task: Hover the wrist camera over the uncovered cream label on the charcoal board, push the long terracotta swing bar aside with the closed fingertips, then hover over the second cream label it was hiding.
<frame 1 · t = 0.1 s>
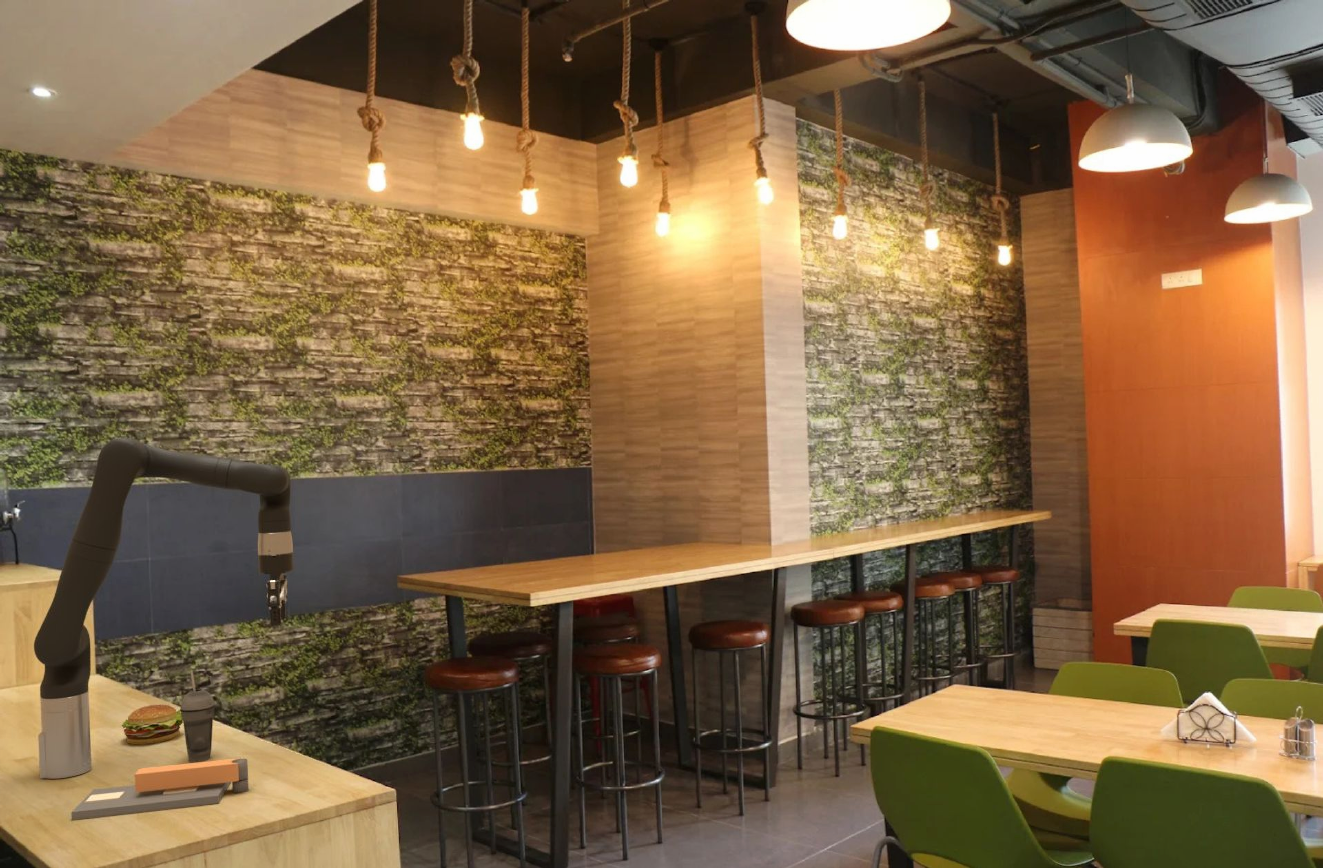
hand: (278, 622, 241), 29 cm above the table, fingers open, 8 cm apart
beverage cup: (199, 759, 237), on the table
label board: (154, 799, 209), on the table
swing bar: (193, 774, 210), point 4 cm above the table, hinge at 0.0°
food: (153, 739, 257), on the table
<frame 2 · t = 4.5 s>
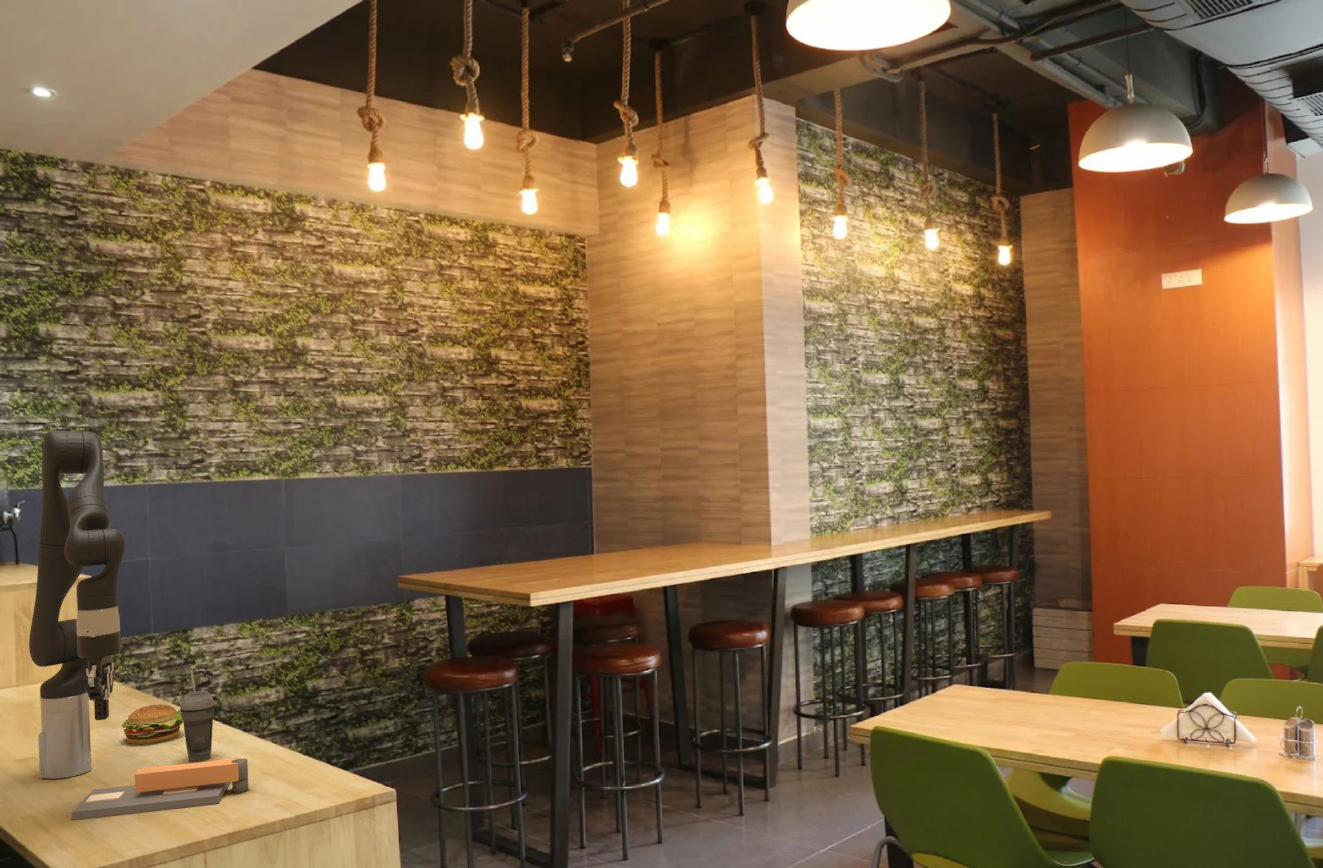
hand: (102, 718, 207), 17 cm above the table, fingers closed
nothing on the table moved.
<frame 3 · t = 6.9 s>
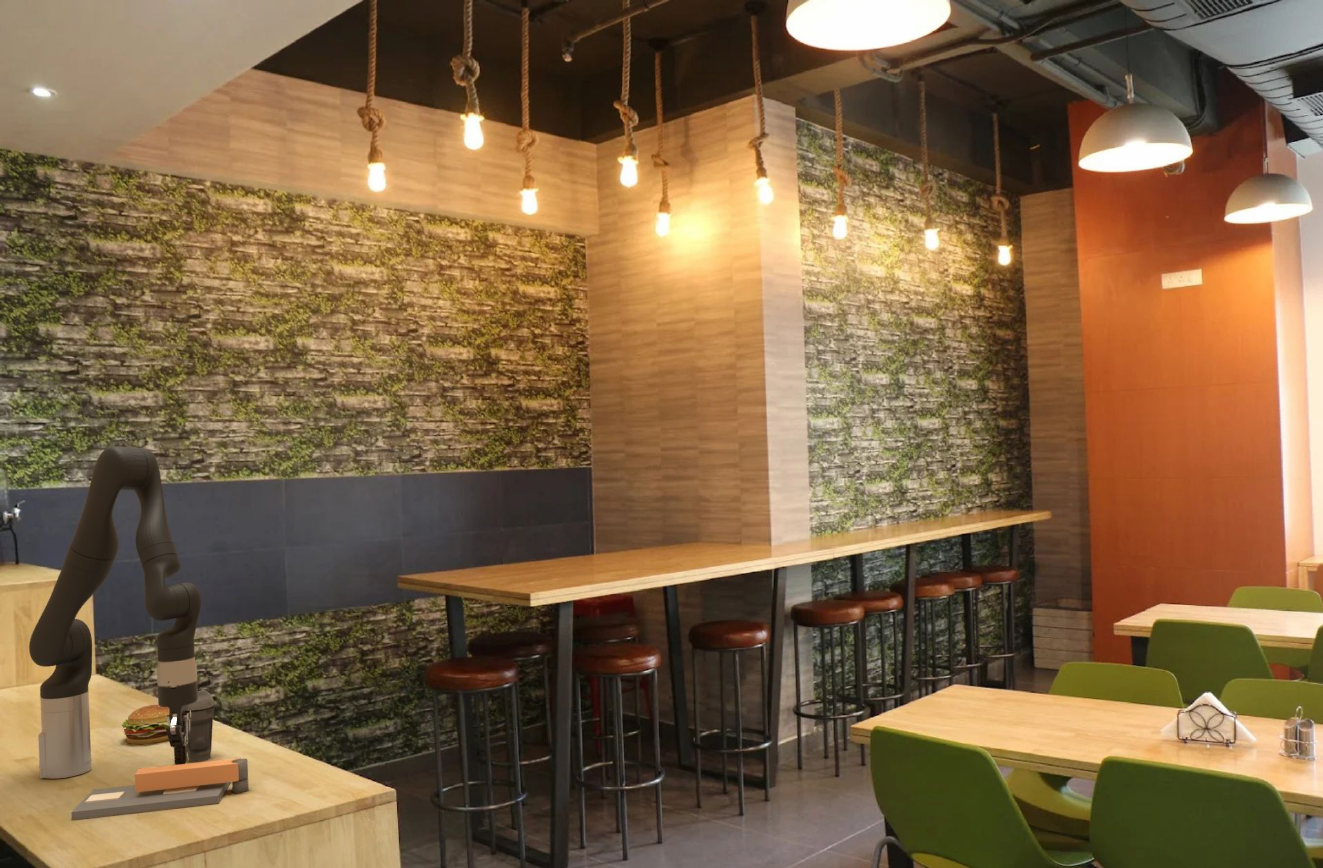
hand: (181, 763, 218), 4 cm above the table, fingers closed
nothing on the table moved.
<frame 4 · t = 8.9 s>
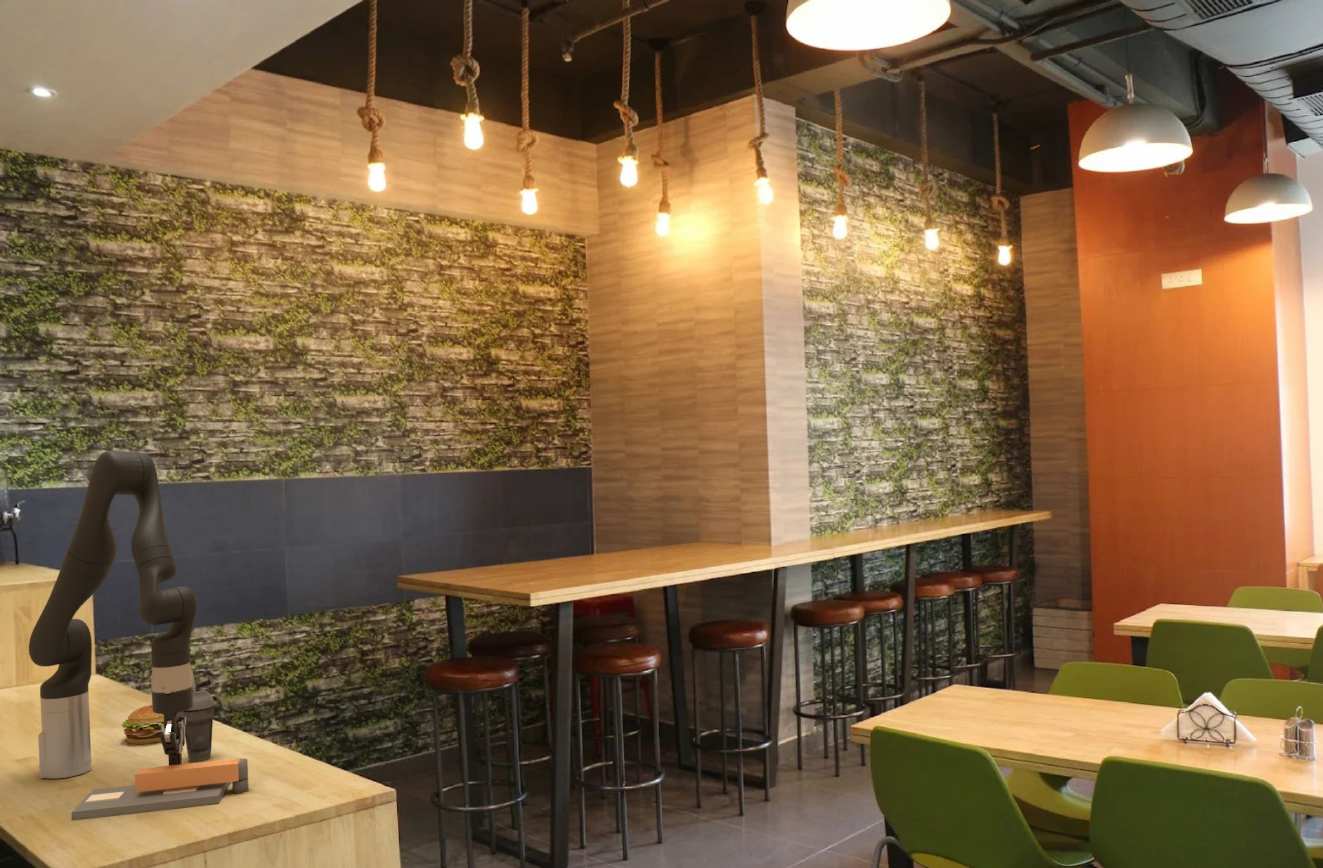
hand: (175, 771, 213), 4 cm above the table, fingers closed
swing bar: (193, 774, 210), point 4 cm above the table, hinge at 0.0°, touching gripper
everything else where it was.
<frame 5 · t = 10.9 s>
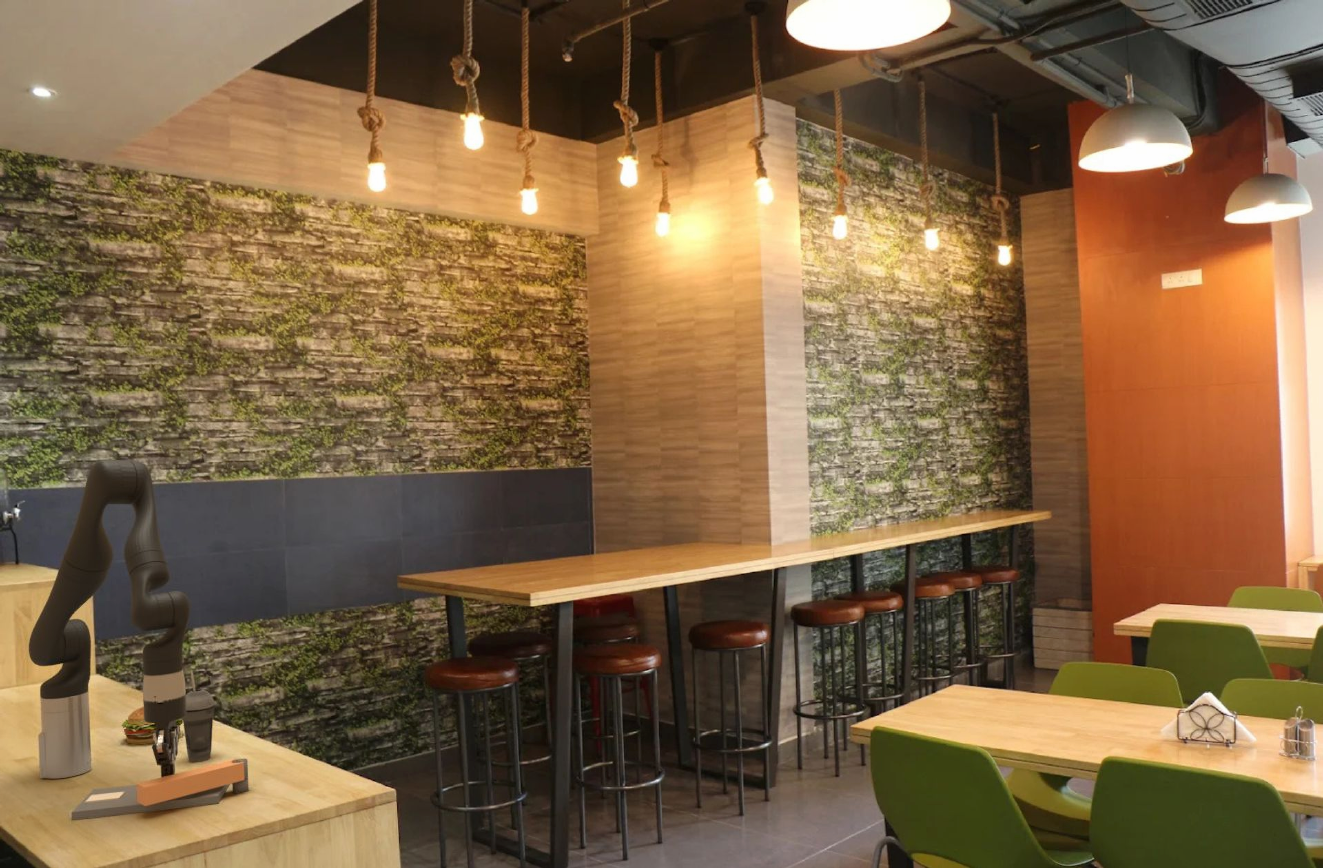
hand: (168, 782, 206), 4 cm above the table, fingers closed
swing bar: (195, 780, 206), point 4 cm above the table, hinge at 32.6°, touching gripper
everything else where it was.
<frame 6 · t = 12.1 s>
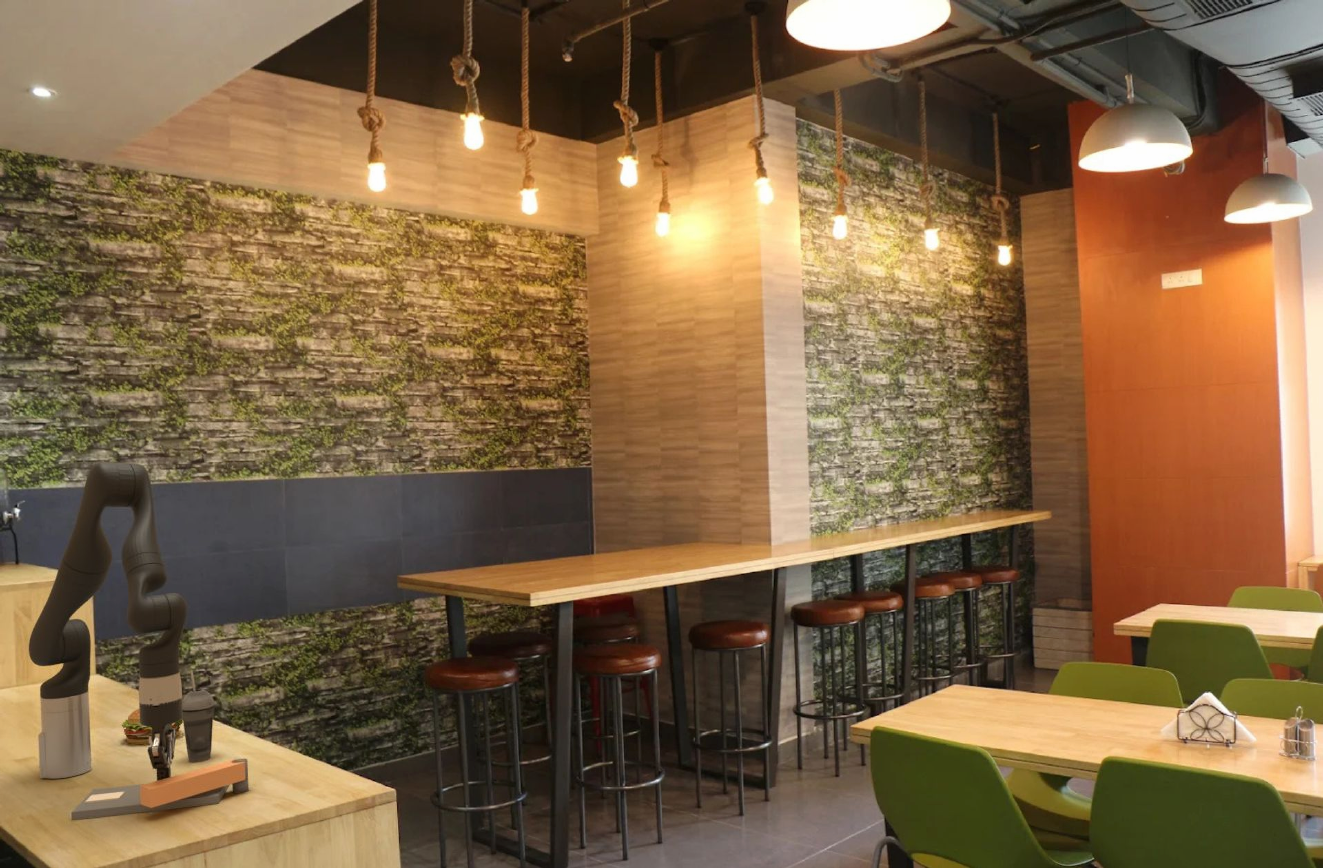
hand: (164, 786, 204), 4 cm above the table, fingers closed
swing bar: (198, 781, 205), point 4 cm above the table, hinge at 38.8°, touching gripper
everything else where it was.
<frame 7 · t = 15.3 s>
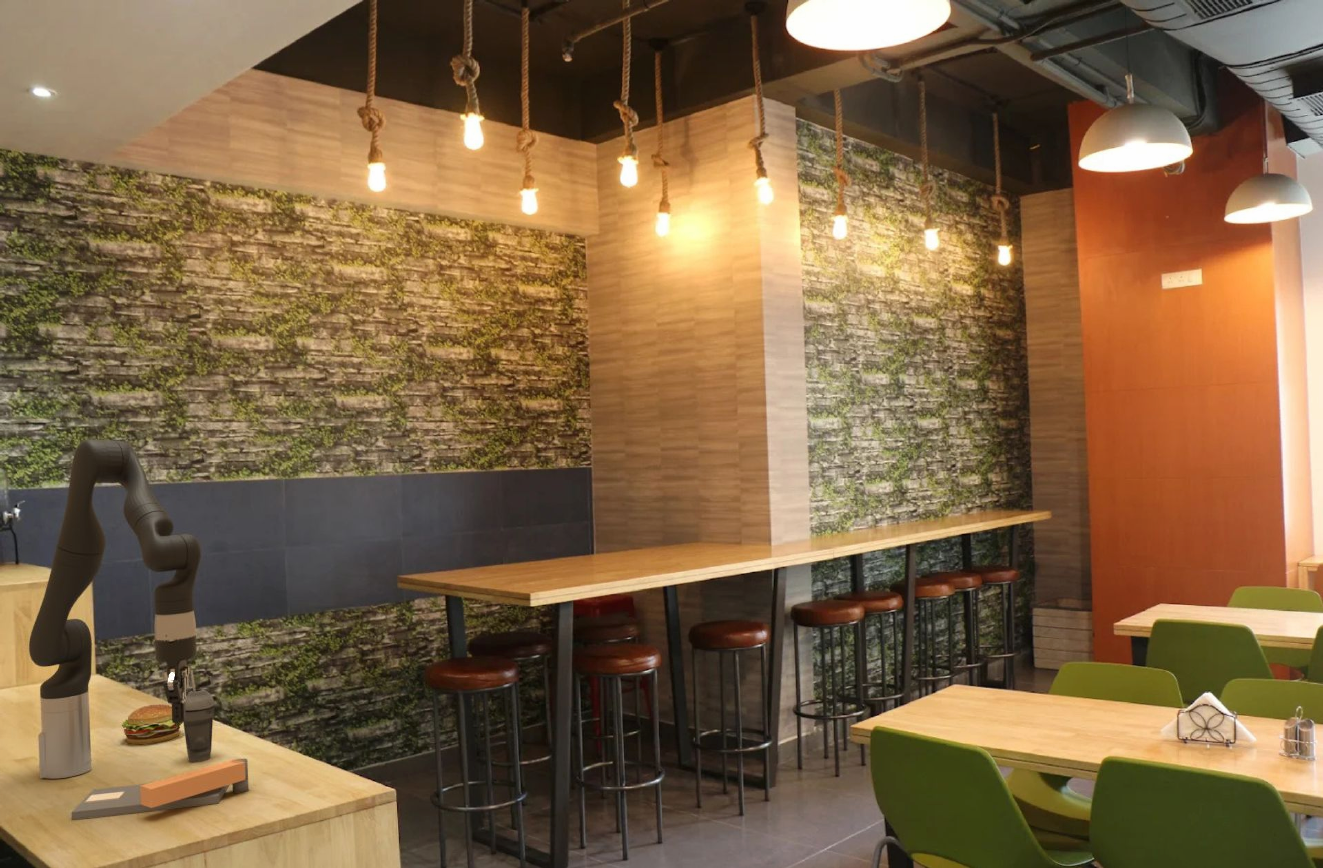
hand: (179, 721, 210), 15 cm above the table, fingers closed
swing bar: (198, 781, 205), point 4 cm above the table, hinge at 39.1°
everything else where it was.
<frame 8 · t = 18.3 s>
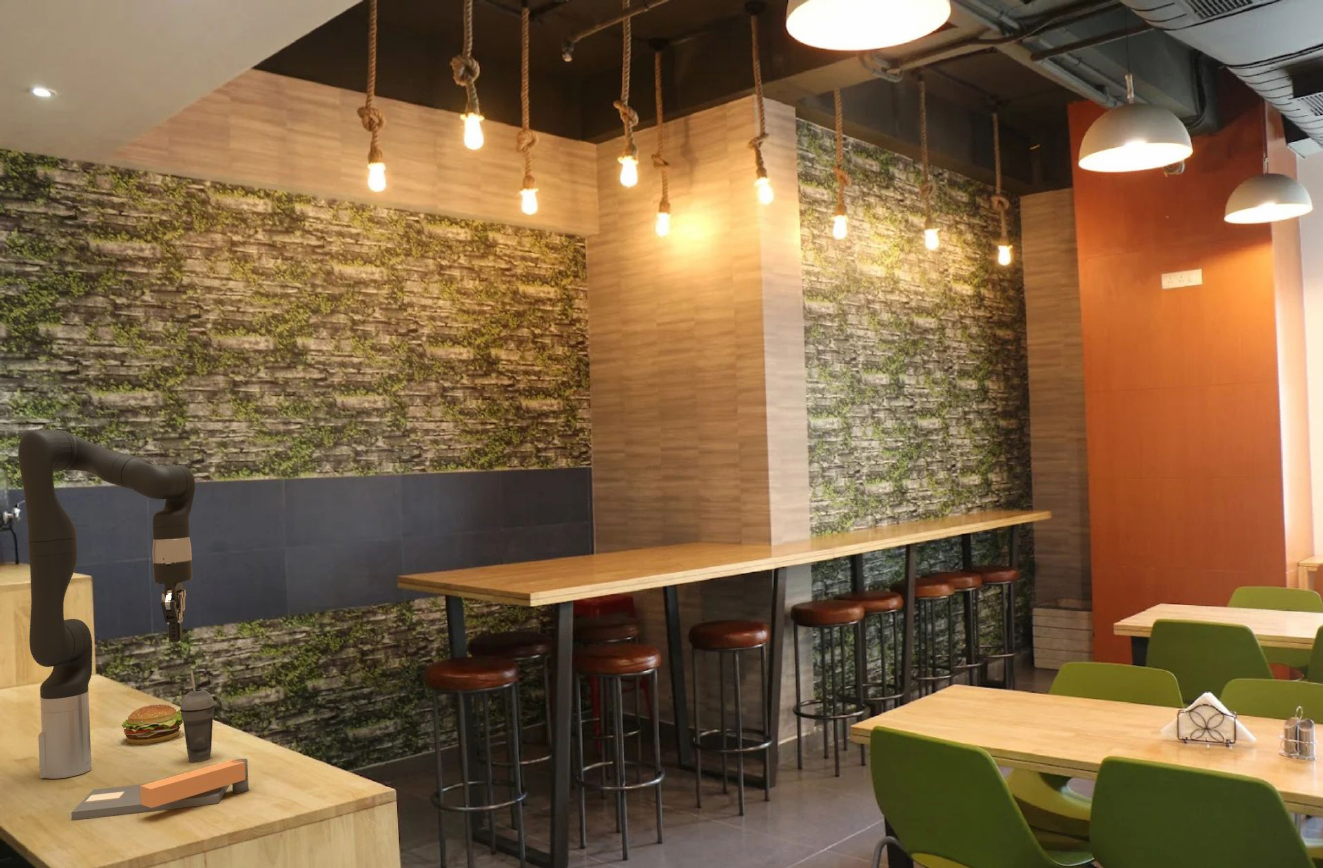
hand: (175, 641, 223), 29 cm above the table, fingers closed
nothing on the table moved.
at the end: swing bar at +39° (first picture: +0°); the gripper is holding nothing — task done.
